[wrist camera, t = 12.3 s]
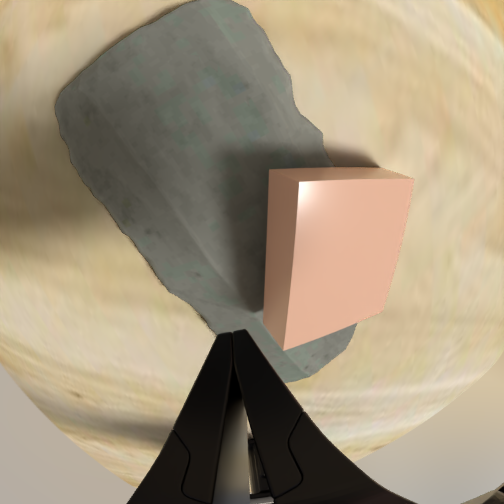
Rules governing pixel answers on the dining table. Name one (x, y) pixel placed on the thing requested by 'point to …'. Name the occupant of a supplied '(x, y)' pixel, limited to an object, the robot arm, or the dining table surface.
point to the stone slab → (197, 161)
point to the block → (330, 248)
